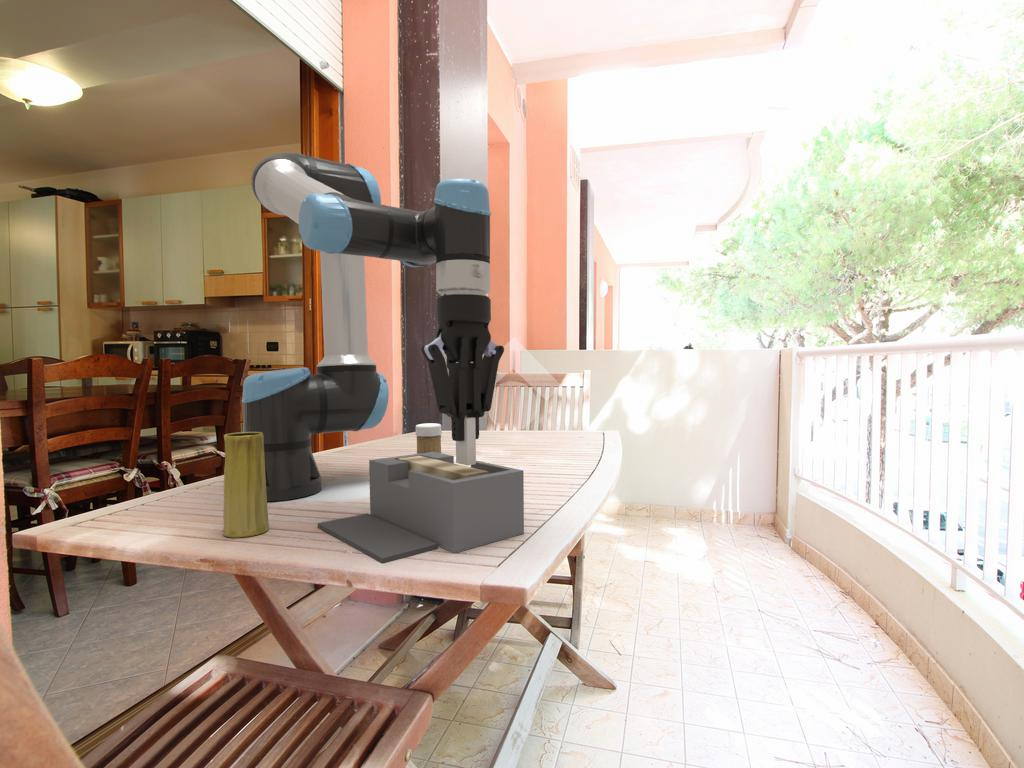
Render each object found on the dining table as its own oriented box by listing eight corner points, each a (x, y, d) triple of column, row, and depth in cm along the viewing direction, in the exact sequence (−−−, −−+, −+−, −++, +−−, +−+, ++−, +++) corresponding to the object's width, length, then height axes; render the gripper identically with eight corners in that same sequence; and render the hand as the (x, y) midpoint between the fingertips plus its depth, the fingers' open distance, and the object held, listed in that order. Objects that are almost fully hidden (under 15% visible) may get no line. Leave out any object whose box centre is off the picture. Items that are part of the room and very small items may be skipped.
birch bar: (398, 474, 89) (398, 458, 89) (419, 470, 92) (419, 455, 92) (465, 493, 76) (464, 475, 75) (488, 488, 78) (487, 471, 78)
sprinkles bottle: (434, 495, 102) (432, 422, 102) (447, 499, 99) (446, 424, 98) (411, 499, 99) (410, 424, 99) (425, 504, 96) (423, 426, 95)
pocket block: (370, 516, 88) (369, 460, 88) (434, 503, 96) (433, 451, 96) (454, 553, 71) (453, 483, 71) (523, 533, 79) (523, 470, 78)
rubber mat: (317, 527, 83) (317, 523, 83) (367, 517, 88) (367, 513, 88) (382, 563, 68) (382, 558, 68) (437, 548, 73) (437, 543, 73)
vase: (257, 523, 85) (255, 430, 85) (277, 530, 81) (274, 433, 81) (215, 532, 81) (212, 434, 80) (234, 541, 77) (231, 437, 76)
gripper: (439, 288, 71) (442, 473, 72) (516, 296, 79) (518, 461, 80) (408, 294, 76) (411, 465, 77) (483, 301, 85) (485, 455, 86)
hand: (465, 463), depth 79 cm, fingers closed
